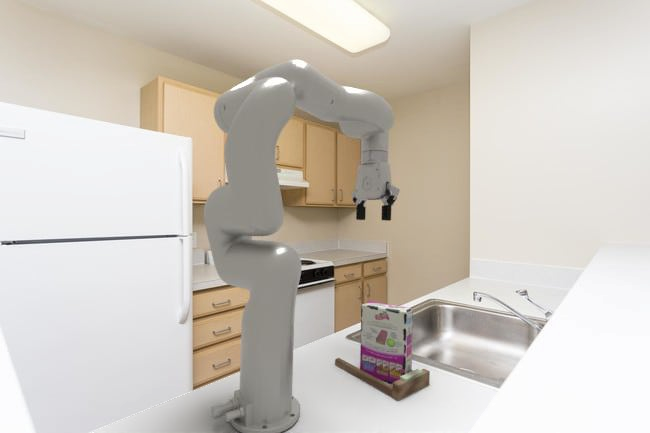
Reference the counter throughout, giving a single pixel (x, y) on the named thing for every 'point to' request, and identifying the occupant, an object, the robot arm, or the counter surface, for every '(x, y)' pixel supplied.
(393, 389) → the wooden box holder
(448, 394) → the counter surface
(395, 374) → the candy bar box
